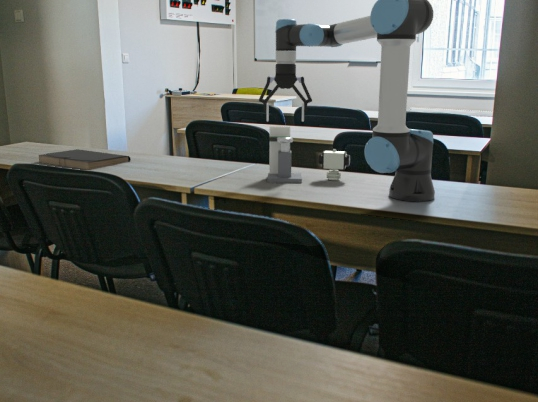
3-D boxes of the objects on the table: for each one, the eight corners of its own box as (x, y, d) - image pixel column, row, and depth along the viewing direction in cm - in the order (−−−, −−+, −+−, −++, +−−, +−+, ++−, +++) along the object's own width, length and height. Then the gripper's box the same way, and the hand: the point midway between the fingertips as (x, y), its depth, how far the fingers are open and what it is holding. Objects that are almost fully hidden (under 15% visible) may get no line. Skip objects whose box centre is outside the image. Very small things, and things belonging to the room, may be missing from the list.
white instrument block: (292, 164, 226) (292, 136, 223) (292, 167, 219) (293, 139, 217) (269, 164, 226) (269, 136, 223) (268, 167, 220) (269, 138, 217)
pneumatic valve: (348, 181, 220) (349, 150, 217) (317, 180, 223) (318, 149, 220) (349, 178, 226) (350, 148, 223) (319, 177, 228) (320, 147, 225)
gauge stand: (300, 176, 229) (301, 126, 224) (301, 182, 218) (302, 129, 213) (268, 176, 229) (268, 126, 224) (267, 182, 218) (267, 129, 214)
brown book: (37, 154, 257) (81, 148, 277) (38, 163, 258) (81, 156, 278) (87, 161, 240) (130, 154, 260) (88, 171, 241) (130, 163, 261)
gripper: (318, 63, 216) (317, 120, 221) (252, 62, 217) (253, 119, 222) (319, 63, 209) (318, 122, 214) (251, 63, 209) (252, 122, 215)
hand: (285, 121), depth 218 cm, fingers open, 13 cm apart
